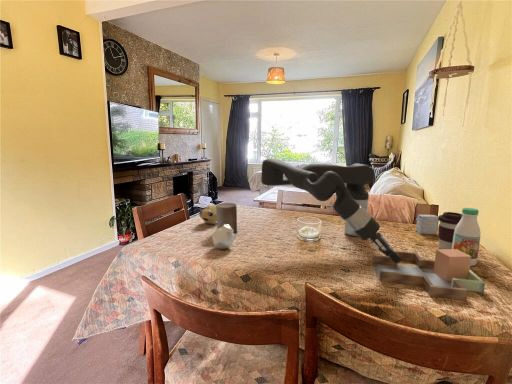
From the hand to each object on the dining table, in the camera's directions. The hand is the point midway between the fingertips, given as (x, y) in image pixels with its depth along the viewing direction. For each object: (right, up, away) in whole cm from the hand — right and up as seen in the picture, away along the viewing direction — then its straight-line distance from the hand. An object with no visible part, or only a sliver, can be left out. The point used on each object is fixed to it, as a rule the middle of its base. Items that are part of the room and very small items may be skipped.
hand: (398, 260), depth 92 cm
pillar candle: (-60, +3, +44) cm, 75 cm away
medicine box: (+36, +2, +44) cm, 57 cm away
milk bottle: (+30, -3, +11) cm, 32 cm away
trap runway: (+7, -5, -1) cm, 9 cm away
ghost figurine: (-60, -1, +24) cm, 64 cm away
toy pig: (-71, +5, +58) cm, 92 cm away
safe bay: (+17, -6, -3) cm, 18 cm away
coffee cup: (+32, -1, +23) cm, 40 cm away
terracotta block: (+16, -5, -1) cm, 17 cm away
